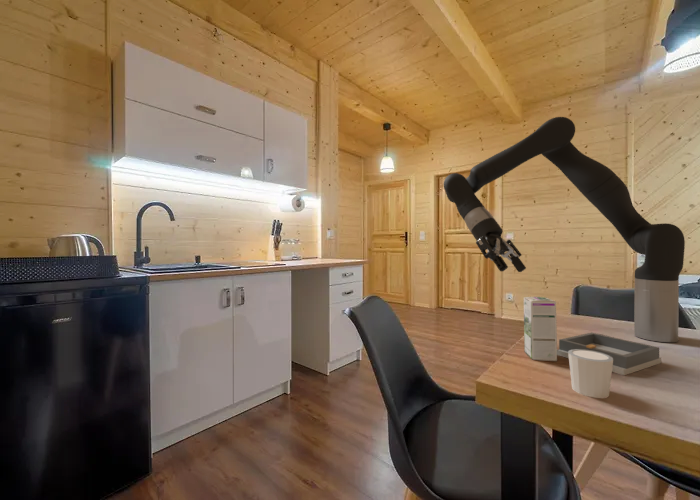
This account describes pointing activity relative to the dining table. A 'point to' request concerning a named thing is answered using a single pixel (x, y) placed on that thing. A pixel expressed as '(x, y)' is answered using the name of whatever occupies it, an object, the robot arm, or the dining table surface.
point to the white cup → (590, 372)
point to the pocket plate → (614, 351)
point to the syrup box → (540, 328)
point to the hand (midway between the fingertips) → (513, 270)
